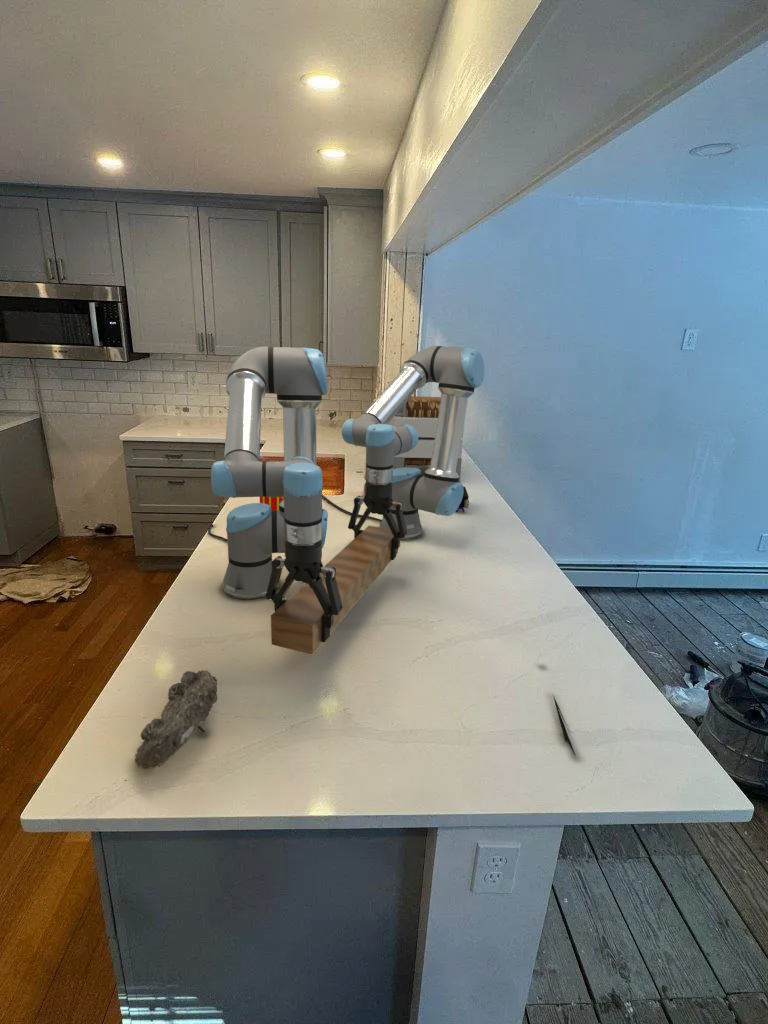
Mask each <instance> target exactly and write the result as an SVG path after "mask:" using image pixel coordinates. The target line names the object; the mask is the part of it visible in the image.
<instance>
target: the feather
mask: <svg viewBox="0 0 768 1024" xmlns="http://www.w3.org/2000/svg"><path fill="white" fill-rule="evenodd" d="M552 697H553V701H554V704H555V708H556V712H557V716H558V721H559V724H560V727H561V730H562V734H563V737H564V738H563V739H564V742H565V744H566V743H568V745H569V747H570V749H571V751H572V753H573V756H576V753H575V750H574V747H573V745H572V742H571V740H570V737H569V734H568V732H570V729H569V726H568V725H567V722H566V720H565V718H564V715H563V713H562V711H561V709H560V707H559V705H558V703H557V700H556V698H555V696H554V695H552ZM567 730H568V731H567ZM573 739H574V737H572V740H573ZM574 740H575V739H574ZM568 745H567V744H566V746H568ZM576 752H577V753H578V751H576ZM578 754H579V753H578Z"/></svg>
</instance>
